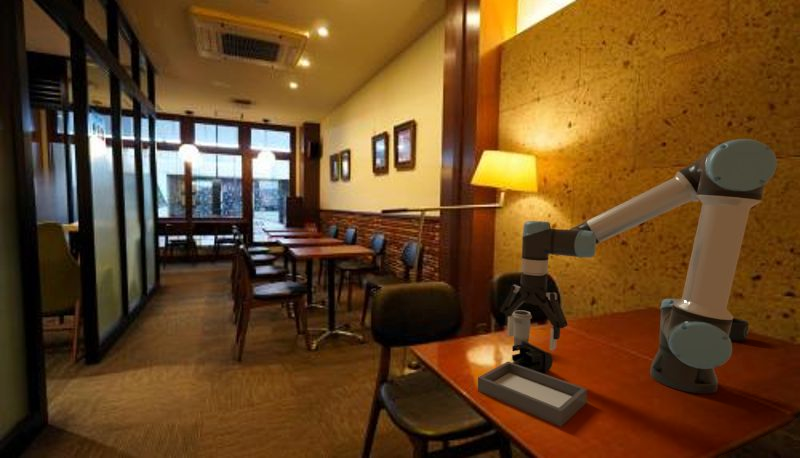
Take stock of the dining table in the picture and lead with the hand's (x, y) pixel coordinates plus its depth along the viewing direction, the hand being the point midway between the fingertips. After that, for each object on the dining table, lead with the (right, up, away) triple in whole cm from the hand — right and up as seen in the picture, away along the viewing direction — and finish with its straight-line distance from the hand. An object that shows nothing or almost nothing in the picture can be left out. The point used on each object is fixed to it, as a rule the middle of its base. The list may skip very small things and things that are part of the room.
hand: (530, 342), depth 112 cm
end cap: (0, -8, 0) cm, 8 cm away
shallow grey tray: (-6, -9, -16) cm, 20 cm away
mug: (+84, -7, +28) cm, 89 cm away
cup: (+3, -7, +18) cm, 19 cm away
